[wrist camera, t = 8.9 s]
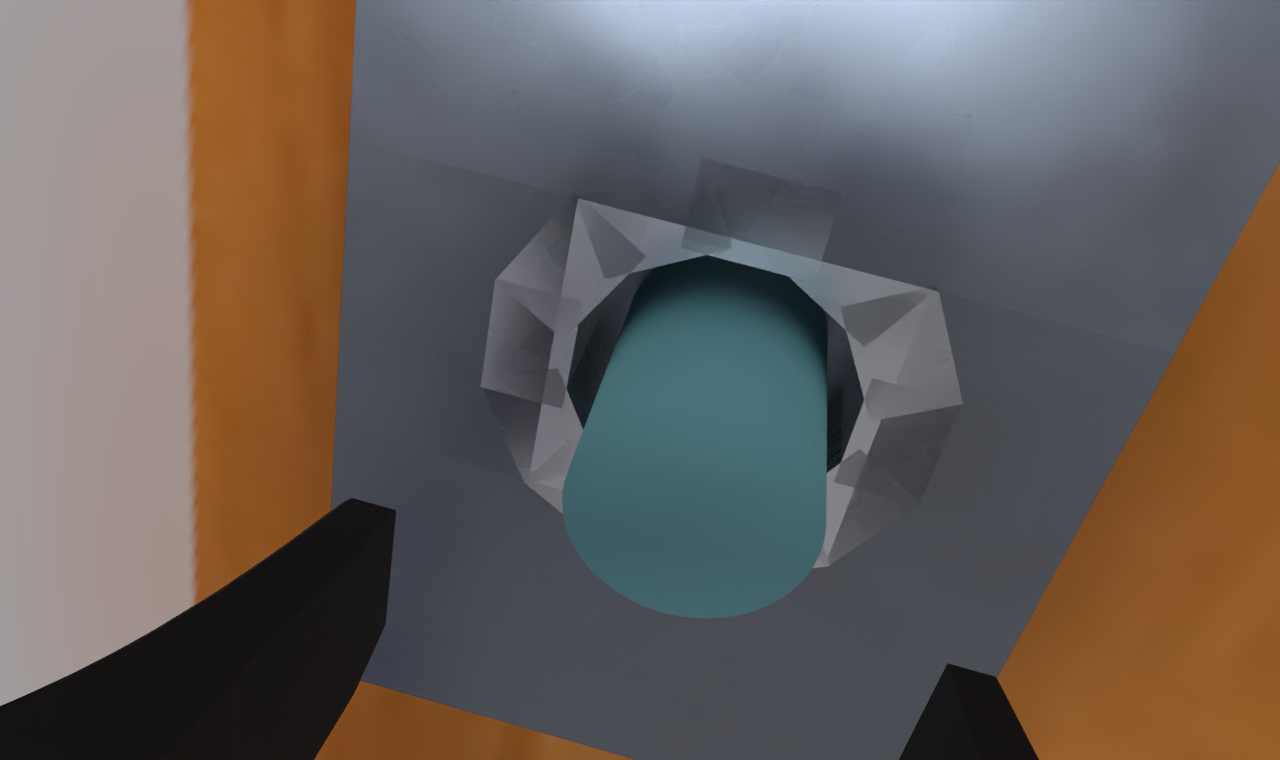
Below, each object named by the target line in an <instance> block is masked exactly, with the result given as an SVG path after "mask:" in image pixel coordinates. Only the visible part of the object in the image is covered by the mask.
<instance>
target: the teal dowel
mask: <svg viewBox="0 0 1280 760" xmlns="http://www.w3.org/2000/svg"><path fill="white" fill-rule="evenodd" d="M827 355H828V334H827V322H826V316H825V312H824V309H823V308H822V307H821V306H819V305H818V304H817V303H816V302H815V301H814V300H813V299H812V298H811V297H810V296H809V295H808V294H807V293H806V292H804V291H803V290H802V289H801V288H800V287H799V286H798V285H797V284H796V283H795V282H794V281H793V280H792V279H791V278H789V277H788V276H786V275H782V274H779V273H775V272H771V271H767V270H763V269H759V268H755V267H752V266H748V265H744V264H740V263H736V262H732V261H729V260H725V259H721V258H717V257H713V256H709V255H704V256H700V257H696V258H692V259H687V260H683V261H679V262H675V263H671V264H667V265H663V266H658V267H655V268H654V269H653V270H652V271H651V272H650V273H649V274H648V275H647V276H646V278H645V279H644V280H643V282H642V283H641V285H640V286H639V288H638V290H637V292H636V294H635V296H634V298H633V301H632V303H631V306H630V309H629V311H628V314H627V317H626V319H625V322H624V324H623V327H622V330H621V332H620V335H619V338H618V340H617V343H616V345H615V348H614V351H613V353H612V356H611V359H610V361H609V364H608V366H607V369H606V372H605V374H604V377H603V380H602V382H601V385H600V388H599V390H598V393H597V395H596V398H595V401H594V403H593V406H592V409H591V411H590V414H589V416H588V419H587V422H586V424H585V427H584V430H583V432H582V435H581V437H580V440H579V443H578V445H577V448H576V451H575V453H574V456H573V459H572V461H571V464H570V466H569V469H568V472H567V475H566V478H565V482H564V487H563V494H562V511H563V516H564V522H565V526H566V529H567V532H568V535H569V537H570V539H571V541H572V543H573V545H574V547H575V549H576V551H577V552H578V554H579V555H580V557H581V558H582V560H583V561H584V563H585V564H586V565H587V566H588V567H589V568H590V569H591V571H592V572H593V573H594V574H595V575H596V576H597V577H599V578H600V579H601V580H602V581H603V582H604V583H605V584H607V585H608V586H609V587H611V588H612V589H614V590H615V591H616V592H618V593H619V594H621V595H623V596H625V597H626V598H628V599H630V600H632V601H634V602H636V603H638V604H640V605H643V606H645V607H647V608H650V609H653V610H656V611H659V612H662V613H667V614H671V615H676V616H682V617H690V618H710V619H711V618H724V617H731V616H737V615H742V614H746V613H749V612H752V611H756V610H759V609H761V608H763V607H766V606H768V605H770V604H772V603H774V602H776V601H777V600H779V599H781V598H783V597H784V596H786V595H787V594H788V593H790V592H791V591H792V590H793V589H795V588H796V587H797V586H798V585H799V584H800V583H801V582H802V581H803V580H804V579H805V578H806V576H807V575H808V574H809V572H810V571H811V569H812V568H813V567H814V565H815V563H816V561H817V559H818V557H819V555H820V553H821V550H822V546H823V543H824V539H825V532H826V494H827Z"/></svg>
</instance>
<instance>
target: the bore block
mask: <svg viewBox="0 0 1280 760" xmlns="http://www.w3.org/2000/svg"><path fill="white" fill-rule="evenodd" d="M1279 162H1280V0H356V19H355V39H354V59H353V79H352V99H351V119H350V139H349V159H348V179H347V199H346V219H345V239H344V259H343V279H342V299H341V319H340V339H339V359H338V379H337V399H336V419H335V439H334V459H333V479H332V499H331V511H332V510H333V509H334V508H336V507H337V506H338V505H340V504H341V503H342V502H344V501H346V500H348V499H350V498H354V499H358V500H361V501H365V502H369V503H372V504H376V505H379V506H383V507H387V508H390V509H394V510H396V520H395V530H394V541H393V552H392V562H391V573H390V584H389V594H388V605H387V616H386V625H385V627H384V629H383V631H382V634H381V636H380V638H379V640H378V643H377V645H376V647H375V649H374V651H373V654H372V656H371V658H370V660H369V663H368V665H367V667H366V669H365V671H364V673H363V675H362V677H361V681H364V682H368V683H371V684H375V685H378V686H382V687H385V688H389V689H392V690H396V691H399V692H403V693H406V694H410V695H413V696H416V697H420V698H423V699H427V700H430V701H434V702H437V703H441V704H444V705H448V706H451V707H455V708H458V709H462V710H465V711H469V712H472V713H476V714H479V715H482V716H486V717H489V718H493V719H496V720H500V721H503V722H507V723H510V724H514V725H517V726H521V727H524V728H528V729H531V730H535V731H538V732H542V733H545V734H548V735H552V736H555V737H559V738H562V739H566V740H569V741H573V742H576V743H580V744H583V745H587V746H590V747H594V748H597V749H601V750H604V751H608V752H611V753H614V754H618V755H621V756H625V757H628V758H632V759H635V760H899V758H900V756H901V754H902V752H903V750H904V748H905V746H906V744H907V742H908V740H909V738H910V736H911V734H912V732H913V730H914V728H915V726H916V724H917V722H918V720H919V718H920V716H921V714H922V712H923V710H924V708H925V707H926V705H927V703H928V701H929V699H930V697H931V695H932V693H933V691H934V689H935V687H936V685H937V683H938V681H939V679H940V677H941V675H942V673H943V671H944V669H945V667H946V665H947V663H948V664H952V665H956V666H959V667H963V668H966V669H970V670H974V671H977V672H981V673H984V674H988V675H992V676H995V677H996V678H997V677H998V675H999V673H1000V672H1001V670H1002V668H1003V666H1004V664H1005V662H1006V661H1007V659H1008V657H1009V655H1010V653H1011V651H1012V650H1013V648H1014V646H1015V644H1016V642H1017V641H1018V639H1019V637H1020V635H1021V633H1022V631H1023V630H1024V628H1025V626H1026V624H1027V622H1028V620H1029V619H1030V617H1031V615H1032V613H1033V611H1034V609H1035V608H1036V606H1037V604H1038V602H1039V600H1040V599H1041V597H1042V595H1043V593H1044V591H1045V589H1046V588H1047V586H1048V584H1049V582H1050V580H1051V578H1052V577H1053V575H1054V573H1055V571H1056V569H1057V567H1058V566H1059V564H1060V562H1061V560H1062V558H1063V557H1064V555H1065V553H1066V551H1067V549H1068V547H1069V546H1070V544H1071V542H1072V540H1073V538H1074V536H1075V535H1076V533H1077V531H1078V529H1079V527H1080V525H1081V524H1082V522H1083V520H1084V518H1085V516H1086V515H1087V513H1088V511H1089V509H1090V507H1091V505H1092V504H1093V502H1094V500H1095V498H1096V496H1097V494H1098V493H1099V491H1100V489H1101V487H1102V485H1103V483H1104V482H1105V480H1106V478H1107V476H1108V474H1109V473H1110V471H1111V469H1112V467H1113V465H1114V463H1115V462H1116V460H1117V458H1118V456H1119V454H1120V452H1121V451H1122V449H1123V447H1124V445H1125V443H1126V441H1127V440H1128V438H1129V436H1130V434H1131V432H1132V431H1133V429H1134V427H1135V425H1136V423H1137V421H1138V420H1139V418H1140V416H1141V414H1142V412H1143V410H1144V409H1145V407H1146V405H1147V403H1148V401H1149V399H1150V398H1151V396H1152V394H1153V392H1154V390H1155V389H1156V387H1157V385H1158V383H1159V381H1160V379H1161V378H1162V376H1163V374H1164V372H1165V370H1166V368H1167V367H1168V365H1169V363H1170V361H1171V359H1172V357H1173V356H1174V354H1175V352H1176V350H1177V348H1178V347H1179V345H1180V343H1181V341H1182V339H1183V337H1184V336H1185V334H1186V332H1187V330H1188V328H1189V326H1190V325H1191V323H1192V321H1193V319H1194V317H1195V315H1196V314H1197V312H1198V310H1199V308H1200V306H1201V305H1202V303H1203V301H1204V299H1205V297H1206V295H1207V294H1208V292H1209V290H1210V288H1211V286H1212V284H1213V283H1214V281H1215V279H1216V277H1217V275H1218V273H1219V272H1220V270H1221V268H1222V266H1223V264H1224V263H1225V261H1226V259H1227V257H1228V255H1229V253H1230V252H1231V250H1232V248H1233V246H1234V244H1235V242H1236V241H1237V239H1238V237H1239V235H1240V233H1241V231H1242V230H1243V228H1244V226H1245V224H1246V222H1247V221H1248V219H1249V217H1250V215H1251V213H1252V211H1253V210H1254V208H1255V206H1256V204H1257V202H1258V200H1259V199H1260V197H1261V195H1262V193H1263V191H1264V189H1265V188H1266V186H1267V184H1268V182H1269V180H1270V179H1271V177H1272V175H1273V173H1274V171H1275V169H1276V168H1277V166H1278V164H1279ZM704 255H709V256H713V257H717V258H721V259H725V260H729V261H732V262H736V263H740V264H744V265H748V266H752V267H755V268H759V269H763V270H767V271H771V272H775V273H779V274H782V275H786V276H788V277H789V278H791V279H792V280H793V281H794V282H795V283H796V284H797V285H798V286H799V287H800V288H801V289H802V290H803V291H804V292H806V293H807V294H808V295H809V296H810V297H811V298H812V299H813V300H814V301H815V302H816V303H817V304H818V305H819V306H821V307H822V308H823V309H824V312H825V316H826V322H827V334H828V355H827V494H826V532H825V539H824V543H823V546H822V550H821V553H820V555H819V557H818V559H817V561H816V563H815V565H814V567H813V568H812V569H811V571H810V572H809V574H808V575H807V576H806V578H805V579H804V580H803V581H802V582H801V583H800V584H799V585H798V586H797V587H796V588H795V589H793V590H792V591H791V592H790V593H788V594H787V595H786V596H784V597H783V598H781V599H779V600H777V601H776V602H774V603H772V604H770V605H768V606H766V607H763V608H761V609H759V610H756V611H752V612H749V613H746V614H742V615H737V616H731V617H724V618H711V619H710V618H690V617H682V616H676V615H671V614H667V613H662V612H659V611H656V610H653V609H650V608H647V607H645V606H643V605H640V604H638V603H636V602H634V601H632V600H630V599H628V598H626V597H625V596H623V595H621V594H619V593H618V592H616V591H615V590H614V589H612V588H611V587H609V586H608V585H607V584H605V583H604V582H603V581H602V580H601V579H600V578H599V577H597V576H596V575H595V574H594V573H593V572H592V571H591V569H590V568H589V567H588V566H587V565H586V564H585V563H584V561H583V560H582V558H581V557H580V555H579V554H578V552H577V551H576V549H575V547H574V545H573V543H572V541H571V539H570V537H569V535H568V532H567V529H566V526H565V522H564V516H563V511H562V494H563V487H564V482H565V478H566V475H567V472H568V469H569V466H570V464H571V461H572V459H573V456H574V453H575V451H576V448H577V445H578V443H579V440H580V437H581V435H582V432H583V430H584V427H585V424H586V422H587V419H588V416H589V414H590V411H591V409H592V406H593V403H594V401H595V398H596V395H597V393H598V390H599V388H600V385H601V382H602V380H603V377H604V374H605V372H606V369H607V366H608V364H609V361H610V359H611V356H612V353H613V351H614V348H615V345H616V343H617V340H618V338H619V335H620V332H621V330H622V327H623V324H624V322H625V319H626V317H627V314H628V311H629V309H630V306H631V303H632V301H633V298H634V296H635V294H636V292H637V290H638V288H639V286H640V285H641V283H642V282H643V280H644V279H645V278H646V276H647V275H648V274H649V273H650V272H651V271H652V270H653V269H654V268H655V267H658V266H663V265H667V264H671V263H675V262H679V261H683V260H687V259H692V258H696V257H700V256H704Z"/></svg>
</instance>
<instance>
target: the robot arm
mask: <svg viewBox="0 0 1280 760" xmlns="http://www.w3.org/2000/svg"><path fill="white" fill-rule="evenodd" d="M395 520H396V510H394V509H390V508H387V507H383V506H379V505H376V504H372V503H369V502H365V501H361V500H358V499H354V498H350V499H348V500H346V501H344V502H342V503H341V504H340V505H338V506H337V507H336V508H334V509H333V510H332V511H330V512H329V513H328V514H326V515H325V516H324V517H322V518H321V519H320V520H318V521H317V522H315V523H314V524H313V525H311V526H310V527H309V528H307V529H306V530H305V531H303V532H302V533H301V534H299V535H298V536H296V537H295V538H294V539H292V540H291V541H290V542H288V543H287V544H285V545H284V546H283V547H281V548H280V549H278V550H277V551H276V552H274V553H273V554H271V555H270V556H269V557H267V558H266V559H264V560H263V561H261V562H260V563H258V564H257V565H255V566H254V567H252V568H251V569H249V570H248V571H247V572H245V573H244V574H242V575H241V576H239V577H238V578H236V579H235V580H233V581H232V582H230V583H229V584H227V585H226V586H224V587H223V588H221V589H220V590H218V591H217V592H215V593H214V594H212V595H211V596H209V597H207V598H206V599H204V600H203V601H201V602H199V603H198V604H196V605H194V606H193V607H191V608H189V609H188V610H186V611H184V612H183V613H181V614H180V615H178V616H176V617H175V618H173V619H171V620H170V621H168V622H166V623H165V624H163V625H161V626H160V627H158V628H157V629H155V630H153V631H151V632H150V633H148V634H146V635H144V636H143V637H141V638H139V639H137V640H135V641H134V642H132V643H130V644H129V645H126V646H125V647H123V648H121V649H119V650H117V651H115V652H114V653H112V654H110V655H108V656H106V657H104V658H102V659H100V660H98V661H96V662H94V663H92V664H90V665H88V666H86V667H84V668H82V669H80V670H78V671H77V672H75V673H72V674H70V675H68V676H66V677H64V678H62V679H60V680H58V681H56V682H53V683H51V684H49V685H47V686H45V687H42V688H41V689H38V690H36V691H34V692H32V693H30V694H27V695H25V696H23V697H21V698H18V699H16V700H14V701H11V702H9V703H7V704H5V705H2V706H0V760H314V759H315V757H316V755H317V754H318V752H319V750H320V749H321V747H322V746H323V744H324V742H325V741H326V739H327V737H328V736H329V734H330V732H331V731H332V729H333V727H334V726H335V724H336V722H337V721H338V719H339V718H340V716H341V714H342V713H343V711H344V709H345V708H346V706H347V704H348V703H349V701H350V699H351V698H352V696H353V694H354V692H355V690H356V688H357V686H358V684H359V682H360V680H361V677H362V675H363V673H364V671H365V669H366V667H367V665H368V663H369V660H370V658H371V656H372V654H373V651H374V649H375V647H376V645H377V643H378V640H379V638H380V636H381V634H382V631H383V629H384V627H385V625H386V616H387V605H388V594H389V584H390V573H391V562H392V552H393V541H394V530H395ZM899 760H1039V759H1038V757H1037V755H1036V753H1035V751H1034V749H1033V747H1032V745H1031V744H1030V742H1029V740H1028V738H1027V736H1026V734H1025V732H1024V730H1023V728H1022V726H1021V724H1020V722H1019V720H1018V718H1017V716H1016V714H1015V712H1014V710H1013V709H1012V707H1011V705H1010V703H1009V701H1008V699H1007V697H1006V695H1005V693H1004V691H1003V689H1002V687H1001V686H1000V684H999V682H998V680H997V678H996V677H995V676H992V675H988V674H984V673H981V672H977V671H974V670H970V669H966V668H963V667H959V666H956V665H952V664H948V663H947V665H946V667H945V669H944V671H943V673H942V675H941V677H940V679H939V681H938V683H937V685H936V687H935V689H934V691H933V693H932V695H931V697H930V699H929V701H928V703H927V705H926V707H925V708H924V710H923V712H922V714H921V716H920V718H919V720H918V722H917V724H916V726H915V728H914V730H913V732H912V734H911V736H910V738H909V740H908V742H907V744H906V746H905V748H904V750H903V752H902V754H901V756H900V758H899Z"/></svg>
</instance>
